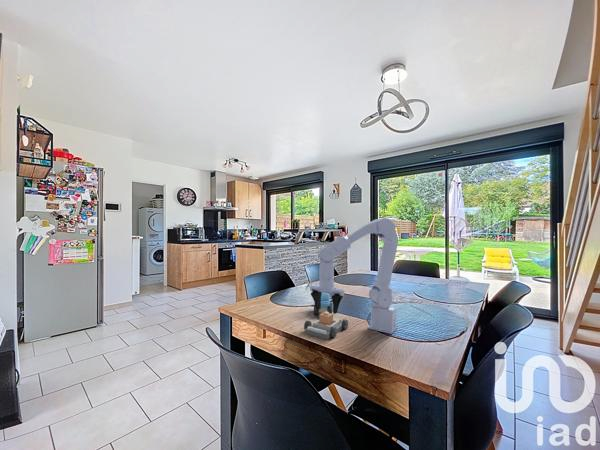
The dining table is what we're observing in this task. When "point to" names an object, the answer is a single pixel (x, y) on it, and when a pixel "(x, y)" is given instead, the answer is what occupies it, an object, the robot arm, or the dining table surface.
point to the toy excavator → (324, 304)
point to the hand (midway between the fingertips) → (326, 311)
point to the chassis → (325, 328)
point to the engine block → (326, 318)
